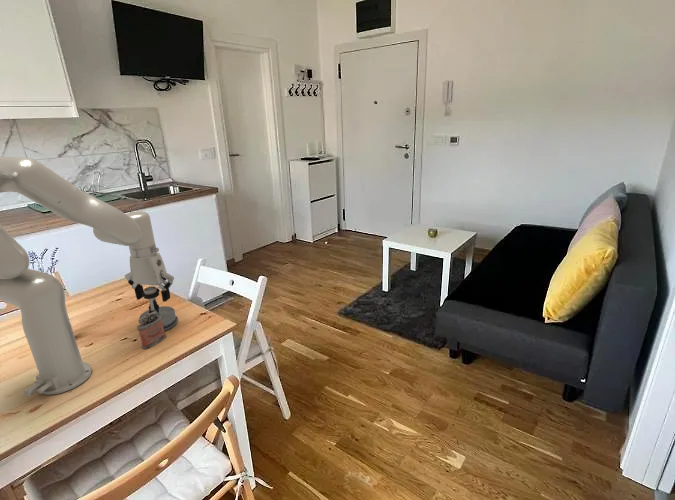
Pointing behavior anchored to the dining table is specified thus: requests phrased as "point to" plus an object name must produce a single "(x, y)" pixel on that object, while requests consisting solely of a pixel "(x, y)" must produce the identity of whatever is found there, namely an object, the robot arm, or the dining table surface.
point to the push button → (152, 298)
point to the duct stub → (166, 317)
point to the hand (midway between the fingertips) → (153, 298)
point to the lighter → (151, 330)
